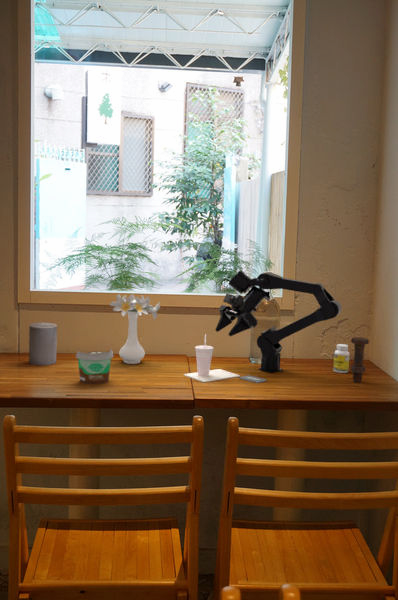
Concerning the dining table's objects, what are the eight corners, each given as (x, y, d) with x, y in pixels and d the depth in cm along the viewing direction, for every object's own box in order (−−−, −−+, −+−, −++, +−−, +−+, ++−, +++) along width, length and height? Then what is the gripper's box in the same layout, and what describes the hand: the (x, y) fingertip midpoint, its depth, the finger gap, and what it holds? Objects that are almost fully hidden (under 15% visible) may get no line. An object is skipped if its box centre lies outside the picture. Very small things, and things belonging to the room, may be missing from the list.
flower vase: (159, 366, 237) (161, 297, 234) (107, 365, 236) (108, 296, 232) (158, 358, 250) (160, 293, 247) (109, 357, 248) (111, 291, 245)
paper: (219, 369, 235) (219, 368, 235) (240, 376, 227) (240, 375, 226) (183, 375, 225) (183, 374, 225) (203, 382, 217) (203, 381, 217)
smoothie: (215, 374, 227) (217, 334, 225) (207, 378, 221) (209, 337, 219) (199, 371, 229) (200, 332, 228) (190, 375, 224) (192, 334, 222)
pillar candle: (22, 362, 235) (23, 321, 233) (43, 358, 243) (44, 318, 241) (41, 367, 230) (42, 324, 228) (62, 362, 238) (63, 321, 236)
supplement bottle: (330, 370, 240) (331, 344, 239) (339, 369, 244) (341, 343, 243) (342, 373, 236) (344, 347, 235) (351, 372, 240) (353, 345, 239)
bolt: (366, 380, 227) (369, 338, 225) (365, 384, 222) (368, 340, 221) (349, 378, 229) (352, 336, 227) (347, 382, 224) (350, 338, 222)
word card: (248, 376, 227) (248, 374, 227) (266, 380, 222) (267, 379, 222) (239, 378, 224) (239, 377, 224) (258, 383, 218) (258, 381, 218)
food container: (81, 386, 206) (81, 354, 205) (75, 381, 212) (75, 351, 210) (118, 382, 212) (119, 352, 211) (111, 378, 217) (112, 348, 216)
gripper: (224, 283, 241) (196, 313, 237) (251, 288, 224) (222, 322, 221) (241, 303, 245) (214, 334, 242) (269, 310, 229) (241, 343, 225)
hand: (222, 333), depth 232 cm, fingers open, 9 cm apart
